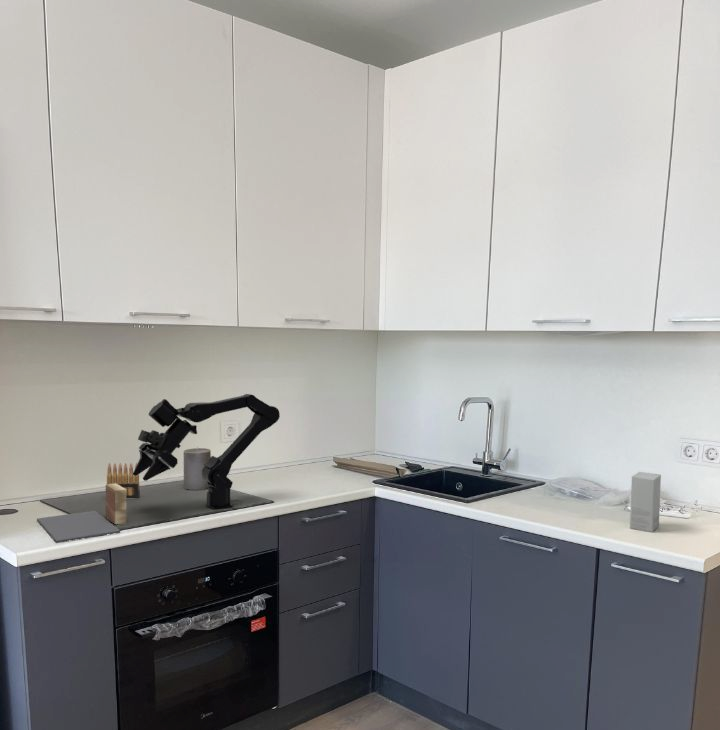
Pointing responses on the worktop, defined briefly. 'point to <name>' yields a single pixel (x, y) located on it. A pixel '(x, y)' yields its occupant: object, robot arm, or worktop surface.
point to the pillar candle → (195, 468)
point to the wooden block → (116, 503)
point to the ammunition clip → (125, 480)
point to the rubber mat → (77, 526)
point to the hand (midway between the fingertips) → (138, 477)
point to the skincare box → (645, 501)
